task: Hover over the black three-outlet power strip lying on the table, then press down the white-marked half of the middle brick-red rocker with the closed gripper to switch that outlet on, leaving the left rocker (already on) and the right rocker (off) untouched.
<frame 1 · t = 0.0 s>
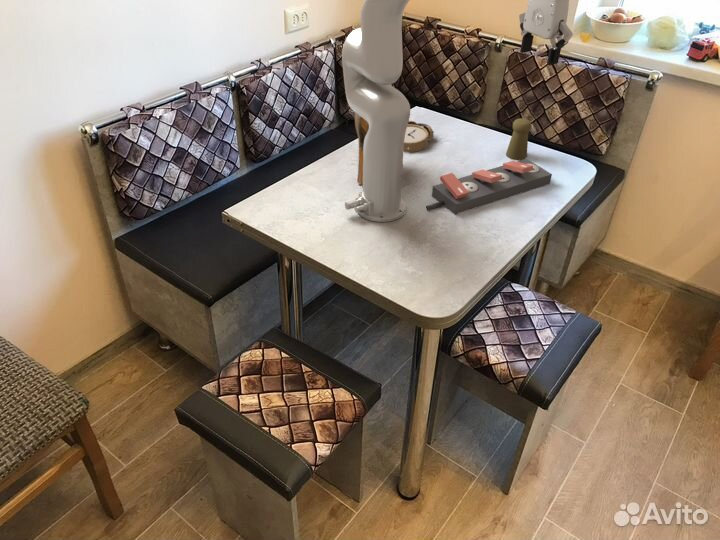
hand: (538, 57, 155), 31 cm above the table, tool pointing down, fingers open, 9 cm apart
outlet 3 rocker: (517, 168, 165), point 5 cm above the table, hinge at -15.0°
pancake mix bag: (373, 173, 171), on the table
outlet 1 rocker: (453, 186, 157), point 5 cm above the table, hinge at 15.0°
power strip: (491, 189, 165), on the table
alarm clock: (411, 142, 187), on the table
outlet 2 rocker: (486, 177, 161), point 5 cm above the table, hinge at -15.0°
cork: (516, 156, 180), on the table
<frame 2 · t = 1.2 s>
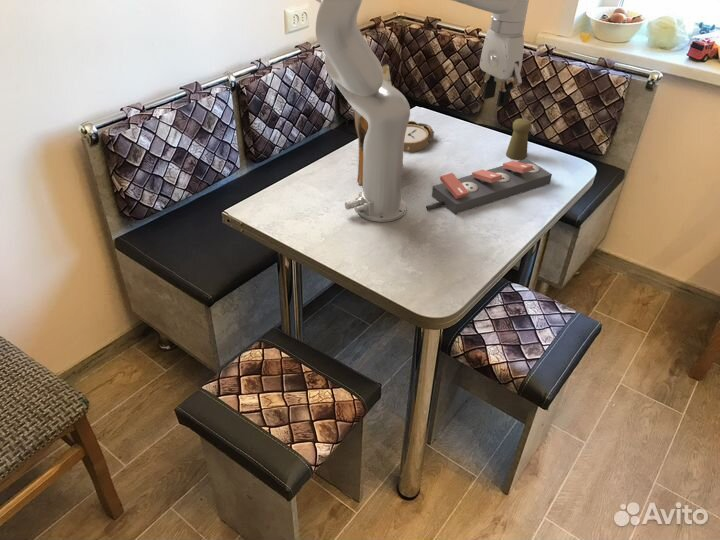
hand: (495, 100, 153), 23 cm above the table, tool pointing down, fingers open, 4 cm apart
nothing on the table moved.
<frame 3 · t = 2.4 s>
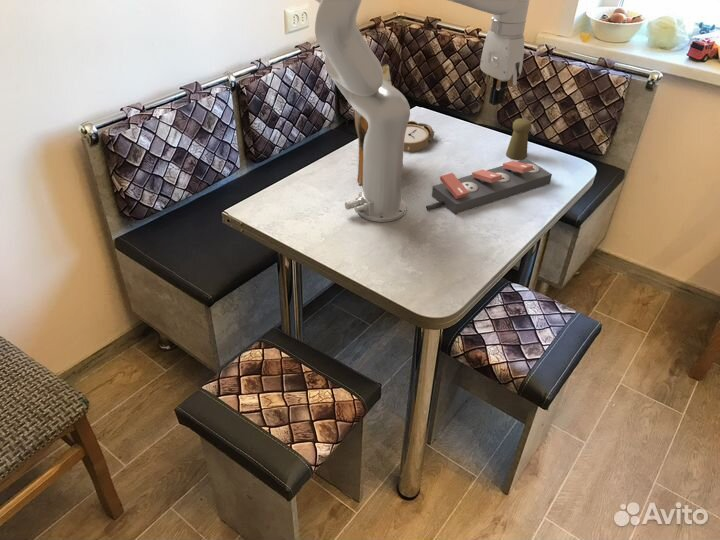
hand: (495, 103, 153), 23 cm above the table, tool pointing down, fingers closed
nothing on the table moved.
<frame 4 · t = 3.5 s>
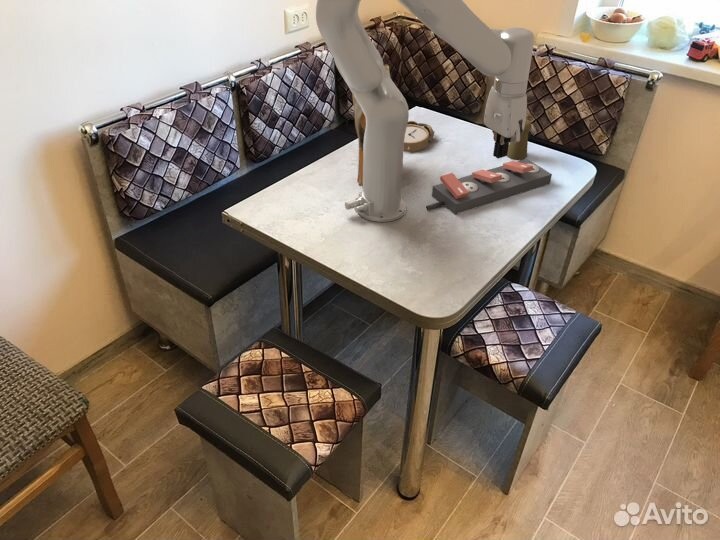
hand: (500, 155, 155), 12 cm above the table, tool pointing down, fingers closed
nothing on the table moved.
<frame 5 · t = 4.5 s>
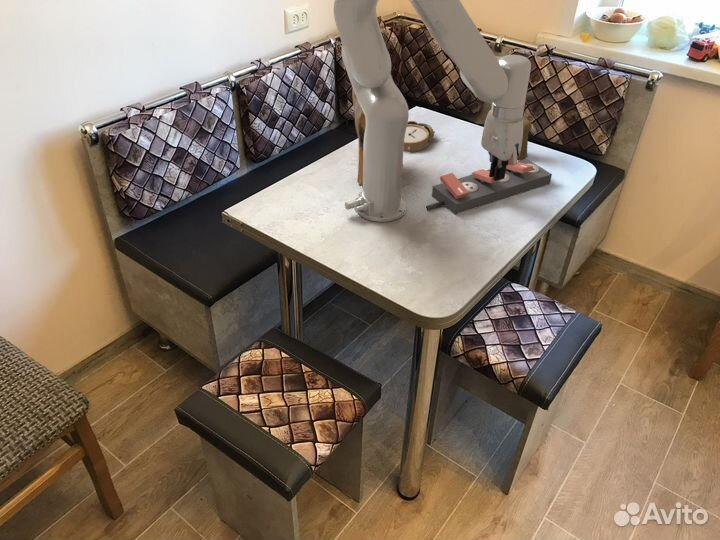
hand: (496, 177, 158), 6 cm above the table, tool pointing down, fingers closed
outlet 2 rocker: (486, 177, 161), point 5 cm above the table, hinge at -13.8°, touching gripper
everything else where it was.
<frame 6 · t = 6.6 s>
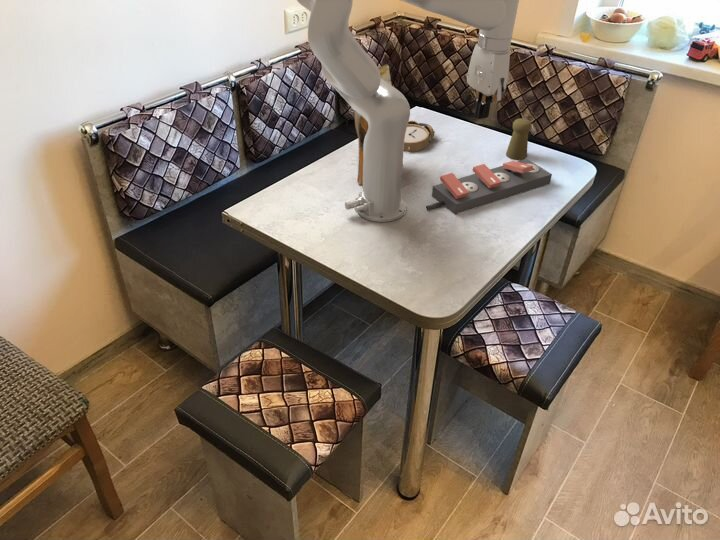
hand: (481, 117, 154), 20 cm above the table, tool pointing down, fingers closed
outlet 2 rocker: (486, 177, 161), point 5 cm above the table, hinge at 12.4°
everything else where it was.
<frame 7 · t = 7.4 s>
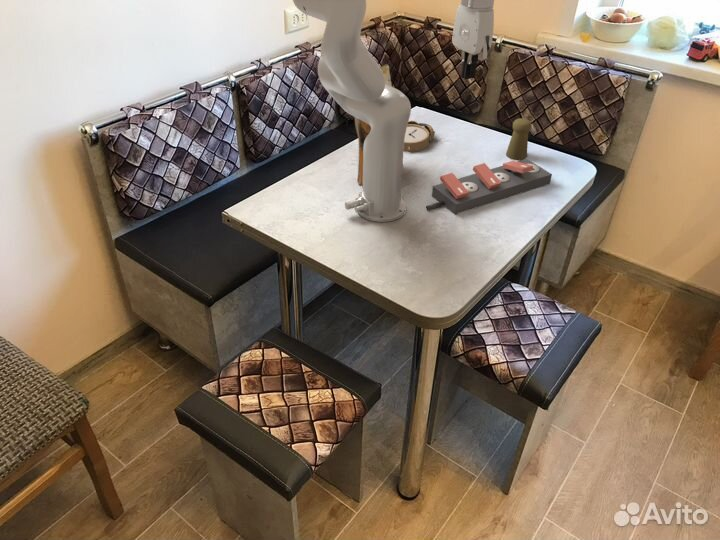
hand: (467, 77, 155), 27 cm above the table, tool pointing down, fingers closed
outlet 2 rocker: (486, 177, 161), point 5 cm above the table, hinge at 17.1°
everything else where it was.
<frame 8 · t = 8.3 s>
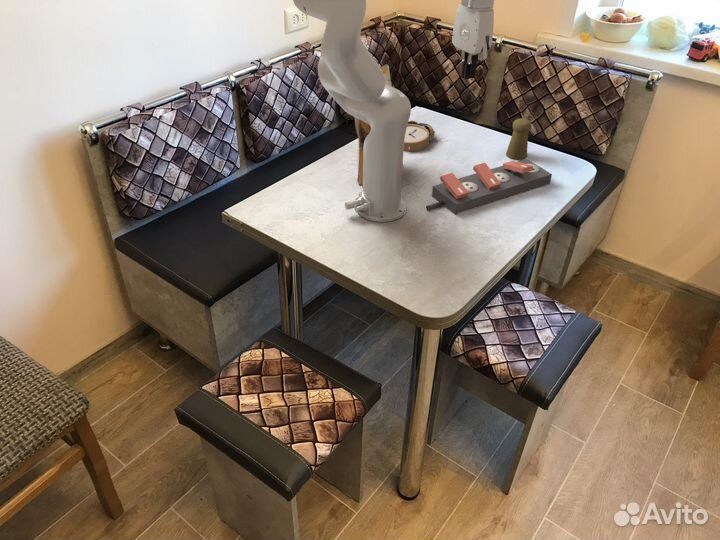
hand: (467, 77, 155), 27 cm above the table, tool pointing down, fingers closed
outlet 2 rocker: (486, 176, 161), point 5 cm above the table, hinge at 20.5°
everything else where it was.
at the end: outlet 2 rocker at +21° (first picture: -15°); outlet 1 rocker at +15° (first picture: +15°); outlet 3 rocker at -15° (first picture: -15°) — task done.
